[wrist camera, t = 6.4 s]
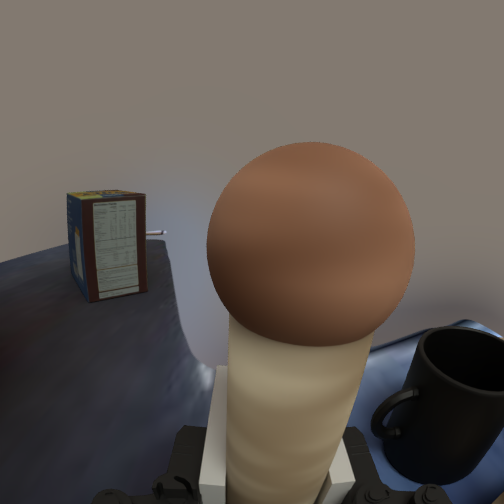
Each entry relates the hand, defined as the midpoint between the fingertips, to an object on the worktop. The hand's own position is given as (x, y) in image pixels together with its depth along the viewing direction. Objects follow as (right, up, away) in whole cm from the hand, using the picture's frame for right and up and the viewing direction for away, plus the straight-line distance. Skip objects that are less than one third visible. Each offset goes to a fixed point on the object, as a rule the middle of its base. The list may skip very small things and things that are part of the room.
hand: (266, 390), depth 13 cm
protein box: (-26, +1, +36) cm, 44 cm away
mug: (+13, -9, +4) cm, 16 cm away
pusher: (+1, -8, +2) cm, 9 cm away
